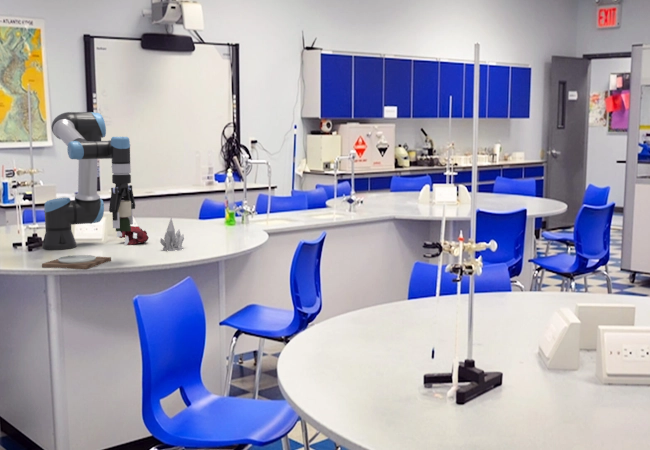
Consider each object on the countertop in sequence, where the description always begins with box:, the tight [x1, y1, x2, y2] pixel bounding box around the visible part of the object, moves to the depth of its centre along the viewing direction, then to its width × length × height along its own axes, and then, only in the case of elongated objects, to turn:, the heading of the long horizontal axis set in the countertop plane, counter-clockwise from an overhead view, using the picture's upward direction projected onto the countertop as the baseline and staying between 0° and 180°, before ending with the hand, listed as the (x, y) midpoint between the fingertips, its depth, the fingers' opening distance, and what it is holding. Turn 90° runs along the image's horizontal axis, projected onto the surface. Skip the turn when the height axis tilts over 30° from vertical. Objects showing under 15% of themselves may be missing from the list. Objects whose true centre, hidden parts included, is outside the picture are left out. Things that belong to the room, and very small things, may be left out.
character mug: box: [115, 200, 132, 233], centre depth 313 cm, size 11×7×13 cm, turn 163°
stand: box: [41, 256, 112, 270], centre depth 313 cm, size 20×20×2 cm
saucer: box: [57, 254, 97, 264], centre depth 313 cm, size 15×15×1 cm
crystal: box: [159, 217, 185, 252], centre depth 350 cm, size 10×13×15 cm
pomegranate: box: [116, 225, 149, 246], centre depth 367 cm, size 15×13×9 cm
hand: (123, 226), depth 314 cm, fingers closed on character mug, 11 cm apart
